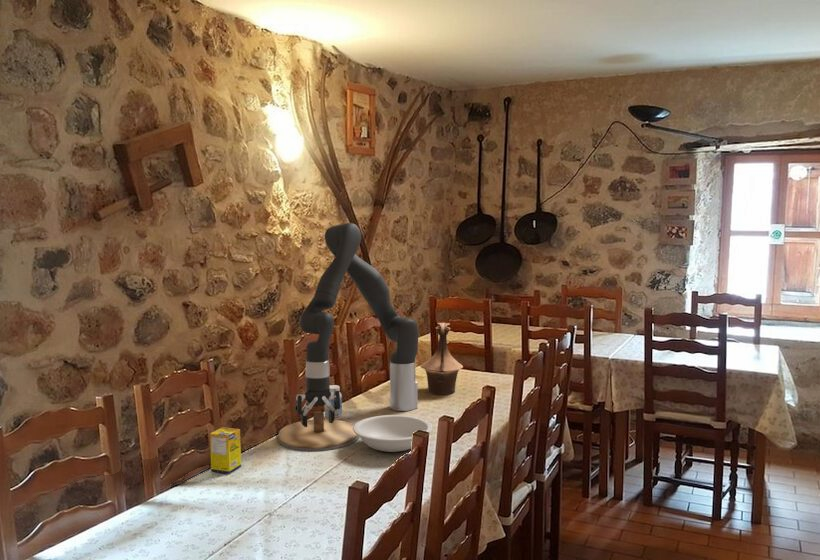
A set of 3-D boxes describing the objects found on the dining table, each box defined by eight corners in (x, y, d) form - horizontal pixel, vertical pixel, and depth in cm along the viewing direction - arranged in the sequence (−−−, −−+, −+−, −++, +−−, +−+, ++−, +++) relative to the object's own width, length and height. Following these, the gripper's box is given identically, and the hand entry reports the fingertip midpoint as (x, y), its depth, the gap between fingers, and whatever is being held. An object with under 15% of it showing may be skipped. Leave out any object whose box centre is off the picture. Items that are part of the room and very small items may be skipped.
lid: (341, 418, 227) (340, 398, 226) (370, 440, 205) (370, 417, 204) (269, 429, 215) (269, 407, 215) (292, 453, 193) (292, 429, 193)
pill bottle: (343, 415, 232) (343, 384, 231) (340, 421, 226) (339, 389, 225) (326, 415, 233) (326, 384, 232) (322, 420, 227) (322, 388, 226)
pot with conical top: (464, 397, 255) (464, 326, 253) (420, 397, 256) (420, 326, 253) (461, 386, 273) (461, 319, 270) (420, 385, 273) (420, 319, 270)
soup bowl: (444, 441, 206) (444, 420, 205) (412, 467, 184) (412, 444, 184) (376, 430, 216) (376, 411, 216) (338, 454, 194) (337, 432, 194)
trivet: (341, 419, 228) (341, 418, 228) (372, 442, 205) (372, 440, 205) (267, 431, 216) (267, 429, 216) (291, 456, 193) (291, 454, 193)
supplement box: (241, 466, 185) (240, 428, 184) (229, 474, 179) (228, 435, 178) (223, 464, 187) (222, 426, 186) (210, 471, 181) (209, 433, 180)
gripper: (334, 369, 215) (334, 418, 216) (292, 374, 208) (292, 424, 210) (343, 374, 208) (343, 424, 210) (299, 379, 202) (300, 431, 203)
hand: (318, 424), depth 210 cm, fingers open, 8 cm apart
